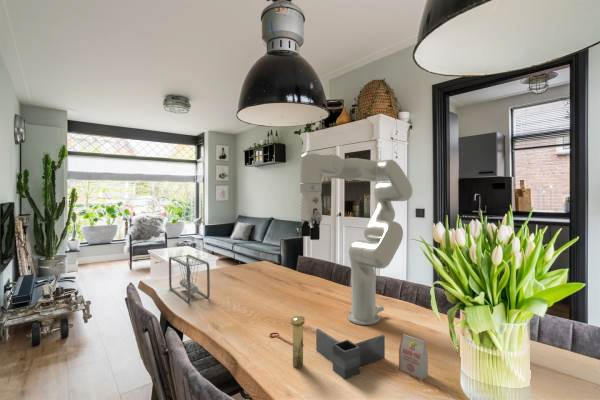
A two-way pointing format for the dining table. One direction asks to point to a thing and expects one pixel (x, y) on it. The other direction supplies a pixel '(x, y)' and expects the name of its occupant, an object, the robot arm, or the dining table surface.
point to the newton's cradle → (186, 282)
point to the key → (281, 338)
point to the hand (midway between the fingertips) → (310, 237)
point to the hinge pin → (297, 340)
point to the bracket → (350, 353)
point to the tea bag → (413, 357)
